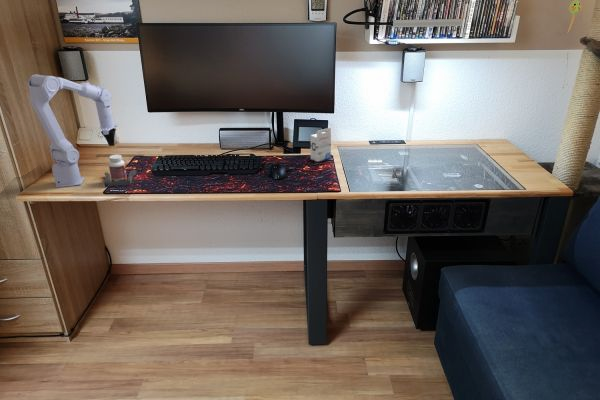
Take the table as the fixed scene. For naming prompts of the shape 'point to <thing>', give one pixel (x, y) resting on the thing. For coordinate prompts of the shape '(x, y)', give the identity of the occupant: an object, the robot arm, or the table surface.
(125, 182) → the mount cradle
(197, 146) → the table surface
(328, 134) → the ink box
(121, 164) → the pill bottle
